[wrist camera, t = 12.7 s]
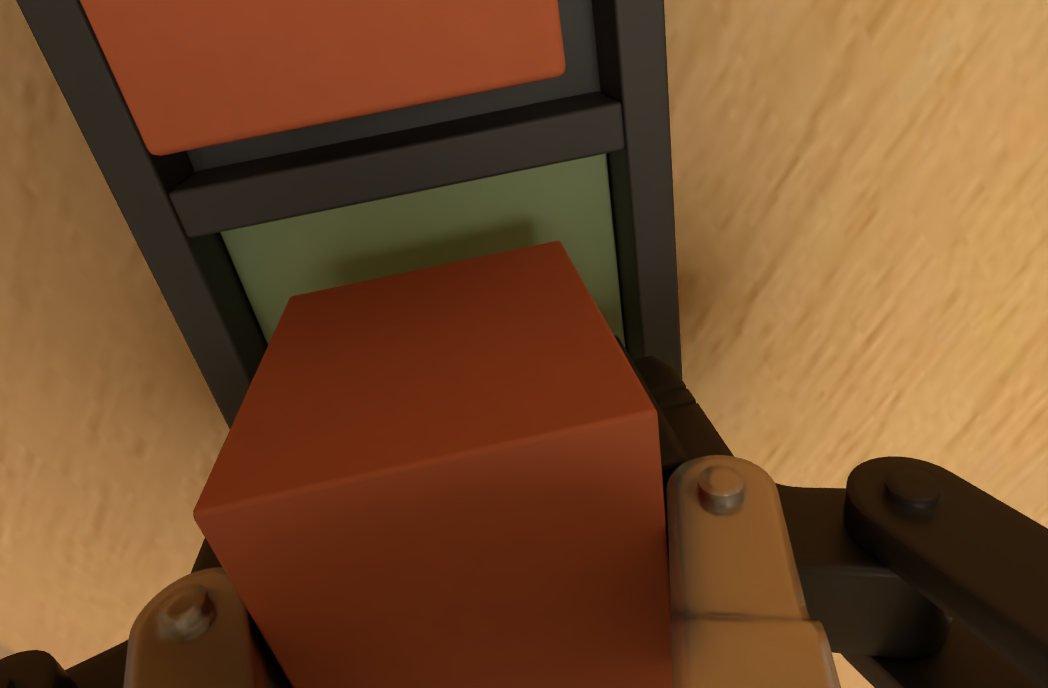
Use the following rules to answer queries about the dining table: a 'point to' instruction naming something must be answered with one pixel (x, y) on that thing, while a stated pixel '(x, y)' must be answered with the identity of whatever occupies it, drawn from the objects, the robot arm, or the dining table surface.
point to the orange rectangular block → (311, 60)
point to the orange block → (449, 487)
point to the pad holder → (400, 189)
